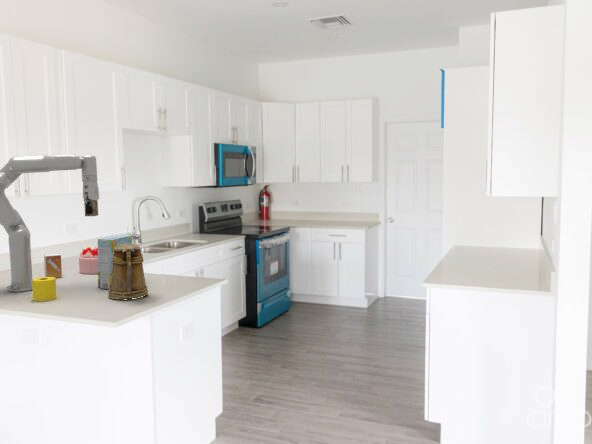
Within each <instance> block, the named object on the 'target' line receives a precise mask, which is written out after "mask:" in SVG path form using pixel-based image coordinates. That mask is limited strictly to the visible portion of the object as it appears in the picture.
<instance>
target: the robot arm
mask: <svg viewBox="0 0 592 444" xmlns="http://www.w3.org/2000/svg"><path fill="white" fill-rule="evenodd" d="M7 161H8V162H6V164H5V165H4V166H3V167H2V168H1V169H0V225H1V226H2V227H3V229H4V230H5V231H6V233H7V235H8V249H9V260H10V261H9V263H10V277H11V278H10V279H11V280H10V281H11V282H10V285H7V287H6V288H7V289H6V290H8V291H9V292H12V293H13V292H14V293H17V292H18V293H19V292H20V293H21V292H27V291H33V289H32V279H33V269H32V268H33V266H32V265H33V264H32V263H33V262H32V250H31V249H32V246H31V232H30V230H29V228H28V226H27V225H26V223H25V221H24V220H23V218H22V217H21V215H20V213H19V211H17V210H16V209H15V208H13V206H12V204H11V203H10V200H9V199H8V197H7V195H6V193H5V190H6V189H8V188H9V187H10V186H12V184H13V183H14V182H15V181H16V180H17V179H18V178H19V177H20V176H21V175H23V174H30V173H31V174H34V173H50V172H56V171H73V170H74V171H75V170H80V169H81V183H82V199H83V202H85V206H86V214H92V206H91V201H95V200H98V201H99V199H100V192H99V191H100V189H99V184H98V170H97V167H98V164H97V157H96V156H95V155H76V154H67V155H65V154H64V155H48V154H47V155H46V154H45V155H44V154H42V155H41V154H40V155H25V156H24V155H23V156H21V155H20V156H19V155H18V156H13V157H10V158H9V160H7ZM89 202H90V203H89ZM85 206H84V207H85Z"/></svg>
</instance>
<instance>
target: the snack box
mask: <svg viewBox="0 0 592 444" xmlns="http://www.w3.org/2000/svg"><path fill="white" fill-rule="evenodd" d="M125 243H128V244H133V235H131V234H115V235H112V236H107V237H102V238H98V239H97V248H98V274H97V278H98V279H97V281H98V282H97V285H98V286H97V288H98V289H105V290H109V289H110V288H111V278H112V268H113V262H112V256H113V255H114V247H115V246H117V245H120V244H125Z"/></svg>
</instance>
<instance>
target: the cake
mask: <svg viewBox="0 0 592 444" xmlns="http://www.w3.org/2000/svg"><path fill="white" fill-rule="evenodd" d="M78 266H79V267H78V268H79V273H80V274H82V275H98V247H96V246H94V248H93V249H92V248H91V247H87V248H84V249H83V248H81V252H80V253H79V256H78Z"/></svg>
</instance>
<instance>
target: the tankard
mask: <svg viewBox="0 0 592 444" xmlns="http://www.w3.org/2000/svg"><path fill="white" fill-rule="evenodd" d="M112 262H113V268H112V278H111V288H110V289H108V298H109V299H111V300H114V299H116V301H125V300H124V299H132V298H138V297H141V296H144V295H147V294H148V295H149V289H148V286H147V283H146V278H145V272H144V266H143V263H144V256H143V253H142V252H141V246H140V245H139V244H136V243H132V244H128V243H125V244H120V245H117V246H115V247H114V255H113V256H112ZM148 295H147V296H148Z"/></svg>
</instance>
